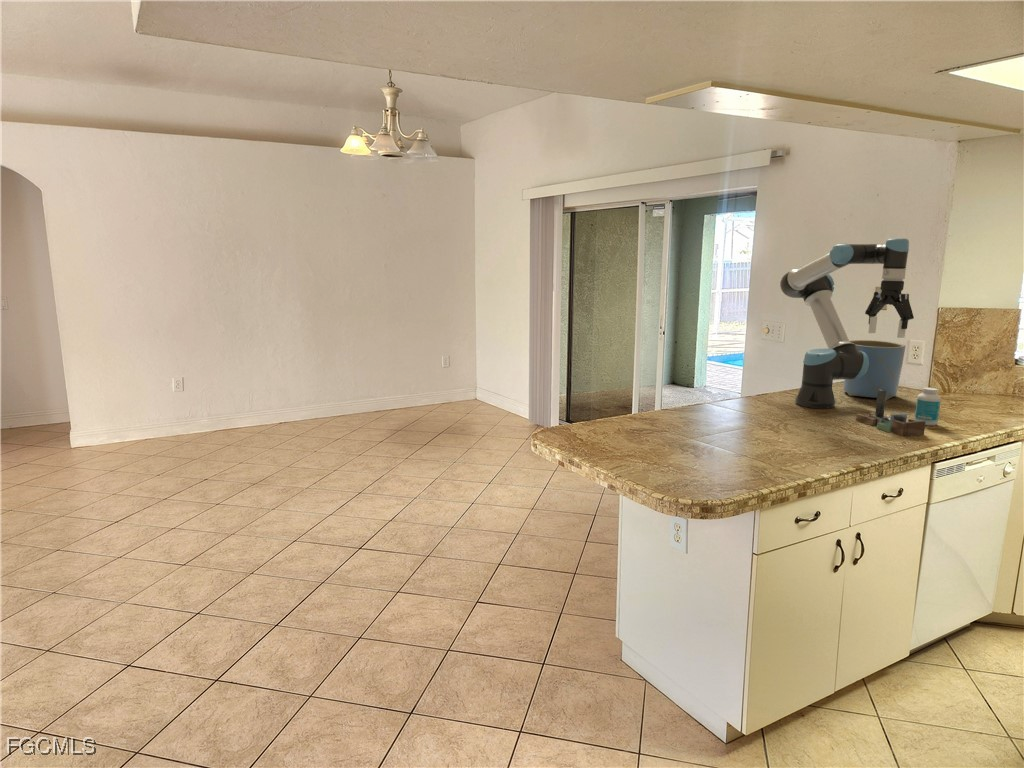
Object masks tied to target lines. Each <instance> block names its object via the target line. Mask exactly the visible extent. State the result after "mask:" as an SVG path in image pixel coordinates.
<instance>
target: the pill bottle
mask: <svg viewBox="0 0 1024 768" xmlns="http://www.w3.org/2000/svg"><path fill="white" fill-rule="evenodd" d="M938 392H939V389H938V388H935V387H923V388H922V393H919V394H918V395H917V396H916V397H917V398H916V405H915V413H914V420H917V421H926V422H925V426H936V425H938V421H939V417H940V416H939V415H940V409H941V402H942V398H941V396H940V395H938Z"/></svg>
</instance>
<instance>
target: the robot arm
mask: <svg viewBox="0 0 1024 768" xmlns="http://www.w3.org/2000/svg"><path fill="white" fill-rule="evenodd" d="M909 247H910V241H909V239H908V238H887V239H886V241H885V243H883V244H881V243H878V244H877V243H869V244H868V243H864V244H863V243H861V244H860V243H854V244H853V243H840V244H839V243H838V244H835V245H833V246H832V248H831V249H830V251H829V253H826V254H825V255H824V256H821V257H820V258H818V259H817V258H816V260H814V261H812V262H810V263H808V264H806V265H804V266H802V267H801V268H794V269H792V270H790V271H787V272H786V273H785V274H784V275H783V276H782V277H781V280H780V283H779V284H780V286H779V287H780V290H781V292H782V293H783V294H784V295H785V296H786V297H788V298H793V299H795V298H796V299H803V302H804V304H805V305H806V306H808V307H810V308H811V310H812V311H811V312H812V313H813V316H814V318H815V321H816V323H817V325H818V328H819V330H820V332H821V334H822V338H823V340H824V341H825V344H826V346H827V348H816V349H815V348H813V349H810V350H807V351H806V352H805V355H804V358H803V369H802V376H801V377H802V379H801V385H800V388H799V390H798V393H797V395H796V397H795V404H796V405H799V406H802V407H805V408H811V409H812V408H813V409H832V408H835V406H836V399H835V395H834V390H833V381H835V380H836V381H838V380H844V379H856V378H861V377H862V376H864V375H865V374H866V372H867V370H868V367H869V358H868V356H867V354H866V353H865V352H862V351H858V349H857V347H856V345H855V344H854V343H851V342H850V341H851V340H849V337H848V335H847V333H846V330H845V328H844V326H843V324H842V321H841V319H840V317H839V314H838V313H837V310H836V308H835V306H834V304H833V301H832V299H831V298H832V297H833V292H834V290H835V287H834V286H835V282H834V279H833V277H832V276H831V275H830V274H831V273H834V272H835V271H837V270H840V269H842V268H844V267H847V266H849V265H851V264H852V265H857V264H858V265H859V264H860V265H862V264H864V265H869V264H870V265H874V264H875V265H876V264H878V265H882V264H883V266H882V275H881V282H880V290H881V291H875V292H874V293H873V297H872V299H871V301H870V303H869V305H868V306H867V308H866V310H865V312H864V314H865V315H867V316H868V325H869V326H868V334H876V331H877V323H878V322H877V321H878V316H877V315H878V314H879V313H880V311H881V310H882V309H884V307H885V306H886V305H891V306H893V307H894V309H895V310H896V312H897V314H898V315H899V317H900V319H899V321H898V327H897V334H896V335H897V336H896V338H897V339H900V338H905V336H906V330H907V329H908V324H909V321H910V320H913V319H915V318H914V314H913V310H912V306H911V303H910V294H909V293H902V291H903V290H904V286H905V281H904V279H906V269H907V263H908V255H909V250H910V249H909ZM882 279H883V280H882Z"/></svg>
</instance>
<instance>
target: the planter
mask: <svg viewBox="0 0 1024 768" xmlns="http://www.w3.org/2000/svg"><path fill="white" fill-rule="evenodd" d="M849 341H850V342H851V343H854V344H855V345H856V347H857V349H858V351H862V352H865V353H866V354H867V356H868V358H869V367H868V370H867V372H866V374H865V375H864V376H862V377H861V378H856V379H843V391H845V392H846V393H847V395H848V396H849V397H863V398H864V397H865V398H872V399H877V396H878V390H879V389H882V390H887V394H886V401H888V400H889V399H890V398H893V397H896V396H897V394H898V388H899V384H900V378H901V373H902V369H903V364H904V363H903V362H904V357H905V351H906V345H905V344H903V343H899V342H892V341H883V340H871V339H870V340H866V339H863V340H862V339H861V340H860V339H859V340H857V339H856V340H855V339H854V340H849Z"/></svg>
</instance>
